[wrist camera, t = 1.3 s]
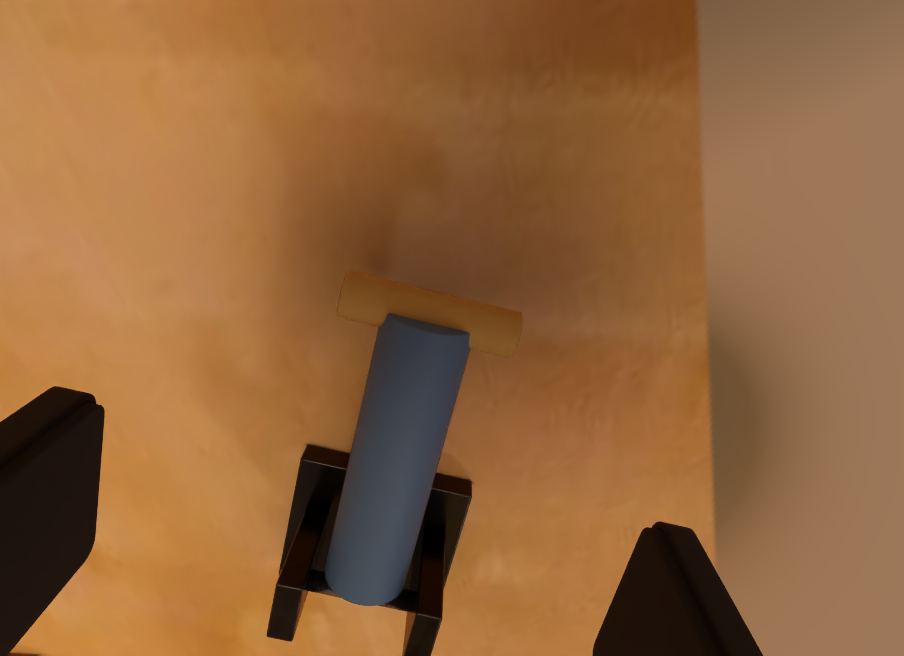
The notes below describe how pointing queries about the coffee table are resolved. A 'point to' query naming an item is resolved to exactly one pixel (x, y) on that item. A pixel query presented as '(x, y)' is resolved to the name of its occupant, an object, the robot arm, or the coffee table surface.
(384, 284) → the t-shaped handle
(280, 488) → the coffee table surface
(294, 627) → the bracket
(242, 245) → the coffee table surface
